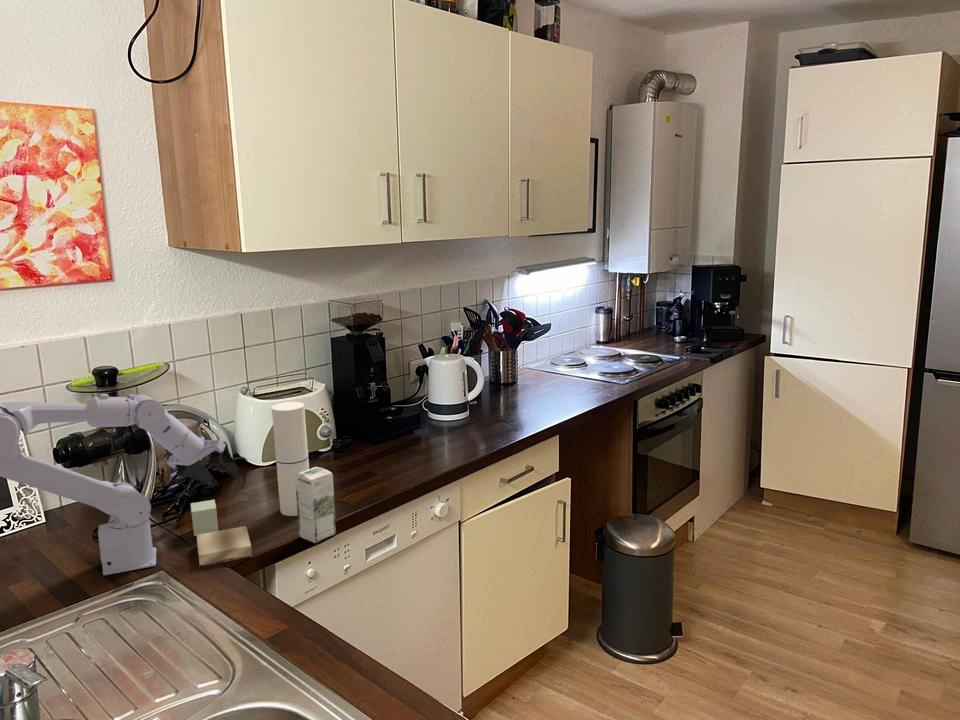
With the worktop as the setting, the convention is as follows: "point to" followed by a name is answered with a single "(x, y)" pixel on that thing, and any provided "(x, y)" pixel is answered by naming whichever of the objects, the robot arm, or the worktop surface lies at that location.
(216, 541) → the birch base
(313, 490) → the syrup box
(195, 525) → the sage block
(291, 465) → the cylindrical container
